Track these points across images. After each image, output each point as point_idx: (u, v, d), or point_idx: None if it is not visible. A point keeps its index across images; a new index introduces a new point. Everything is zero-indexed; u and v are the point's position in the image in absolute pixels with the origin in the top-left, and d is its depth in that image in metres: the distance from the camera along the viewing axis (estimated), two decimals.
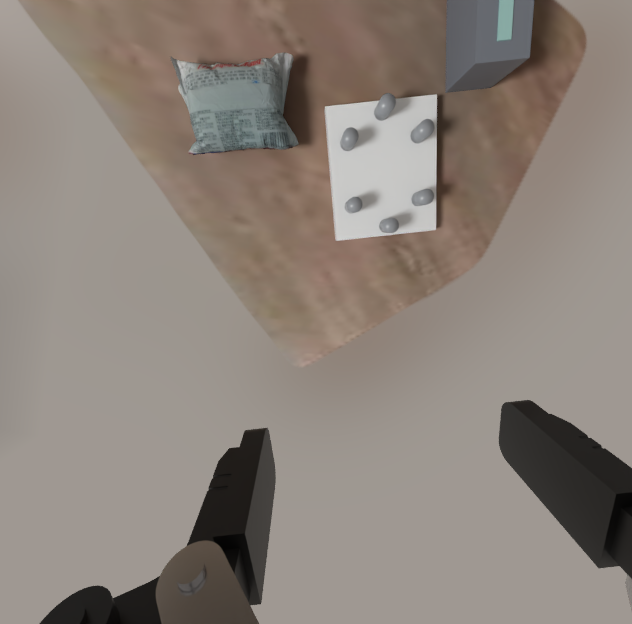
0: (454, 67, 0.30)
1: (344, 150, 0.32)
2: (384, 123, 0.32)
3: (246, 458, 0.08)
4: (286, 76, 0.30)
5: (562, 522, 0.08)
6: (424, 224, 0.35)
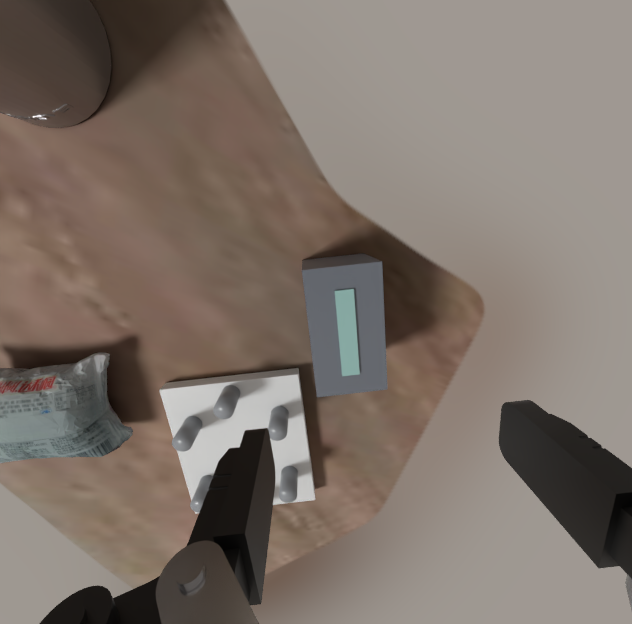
0: None
1: None
2: (237, 404, 0.26)
3: (246, 458, 0.08)
4: (100, 379, 0.24)
5: (562, 522, 0.08)
6: (300, 495, 0.29)
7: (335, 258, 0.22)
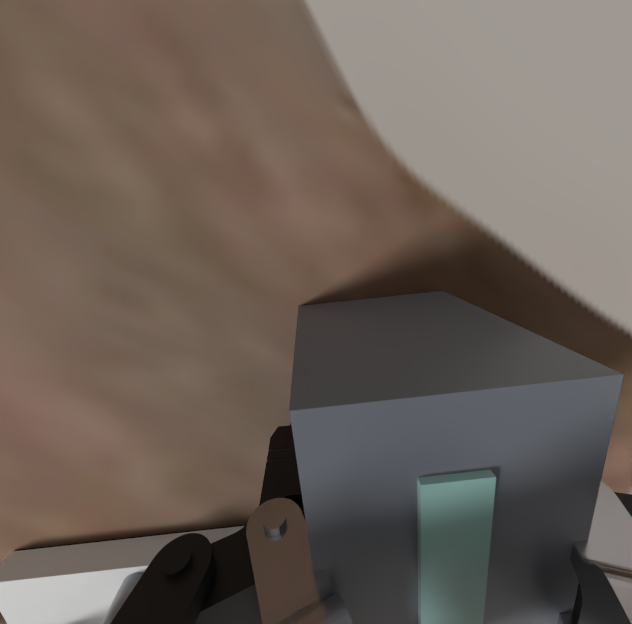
0: None
1: None
2: None
3: None
4: None
5: None
6: None
7: (383, 311, 0.09)
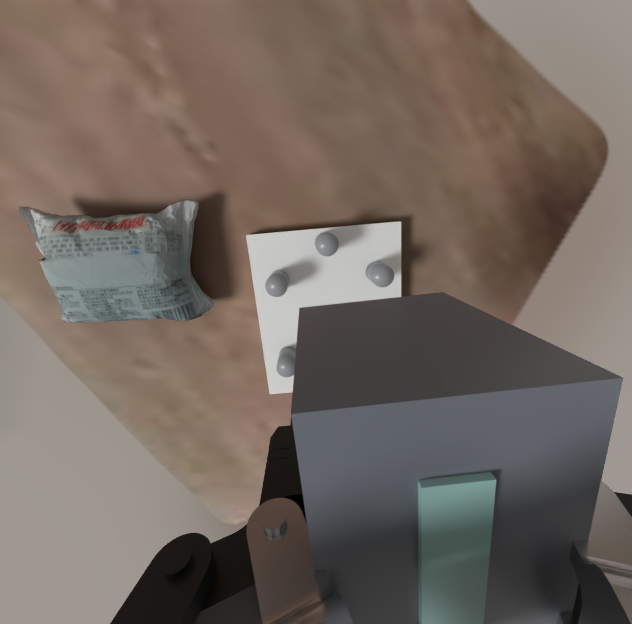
0: None
1: None
2: (329, 257, 0.23)
3: None
4: (188, 230, 0.21)
5: None
6: None
7: (384, 313, 0.09)
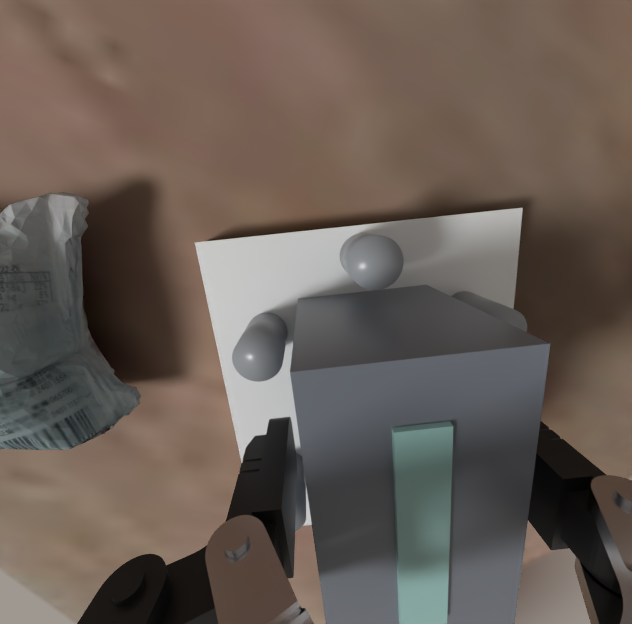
0: None
1: None
2: None
3: (274, 443, 0.09)
4: (65, 259, 0.10)
5: None
6: None
7: (372, 301, 0.10)
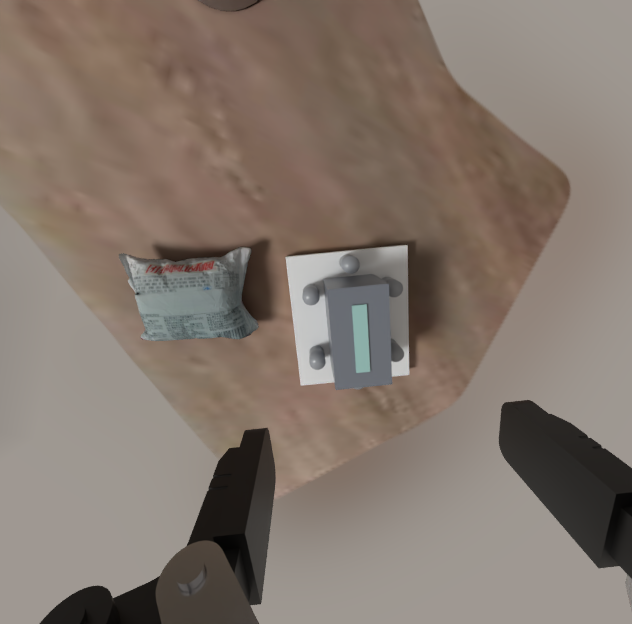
0: None
1: None
2: (351, 273, 0.29)
3: (246, 458, 0.08)
4: (243, 269, 0.28)
5: (562, 522, 0.08)
6: (396, 369, 0.32)
7: (350, 278, 0.28)
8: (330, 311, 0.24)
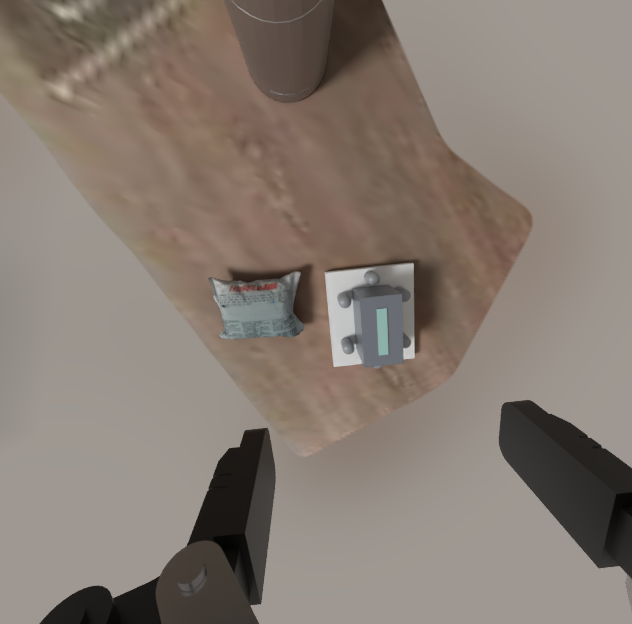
0: (358, 344, 0.40)
1: None
2: None
3: (246, 458, 0.08)
4: (295, 287, 0.39)
5: (562, 522, 0.08)
6: (405, 354, 0.43)
7: (372, 288, 0.39)
8: (361, 313, 0.35)
